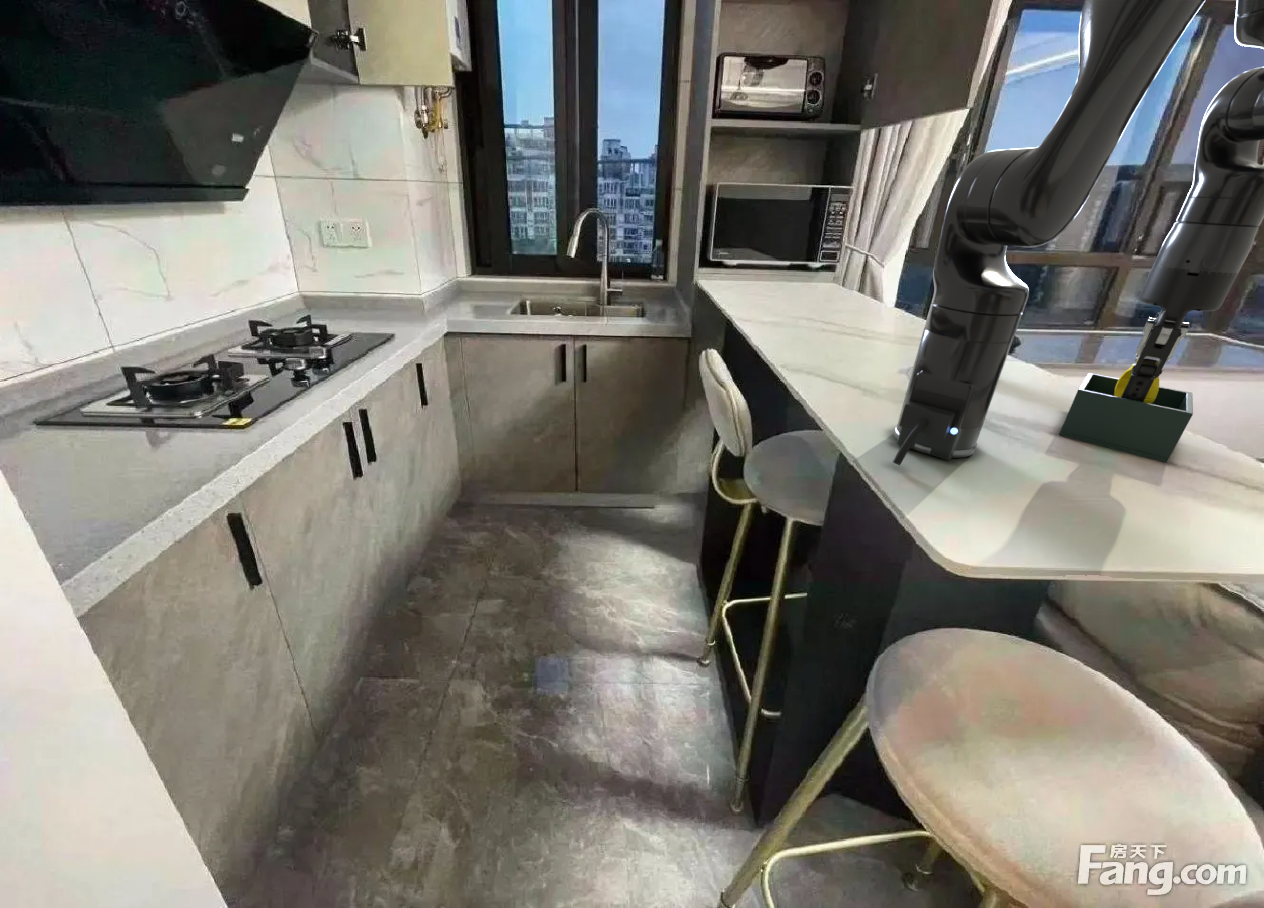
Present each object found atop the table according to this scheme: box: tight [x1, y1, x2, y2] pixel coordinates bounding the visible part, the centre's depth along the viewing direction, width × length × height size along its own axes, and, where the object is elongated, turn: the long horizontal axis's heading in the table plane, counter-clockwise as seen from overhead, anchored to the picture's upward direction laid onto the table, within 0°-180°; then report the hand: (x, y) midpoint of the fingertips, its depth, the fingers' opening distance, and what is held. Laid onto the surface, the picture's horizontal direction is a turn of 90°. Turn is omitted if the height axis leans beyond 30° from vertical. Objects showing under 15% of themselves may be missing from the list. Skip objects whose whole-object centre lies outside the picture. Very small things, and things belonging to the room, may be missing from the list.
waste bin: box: [1058, 372, 1194, 463], centre depth 73 cm, size 11×11×7 cm
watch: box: [1114, 363, 1160, 404], centre depth 71 cm, size 6×3×6 cm, turn 167°
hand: (1131, 398), depth 72 cm, fingers closed on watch, 5 cm apart
